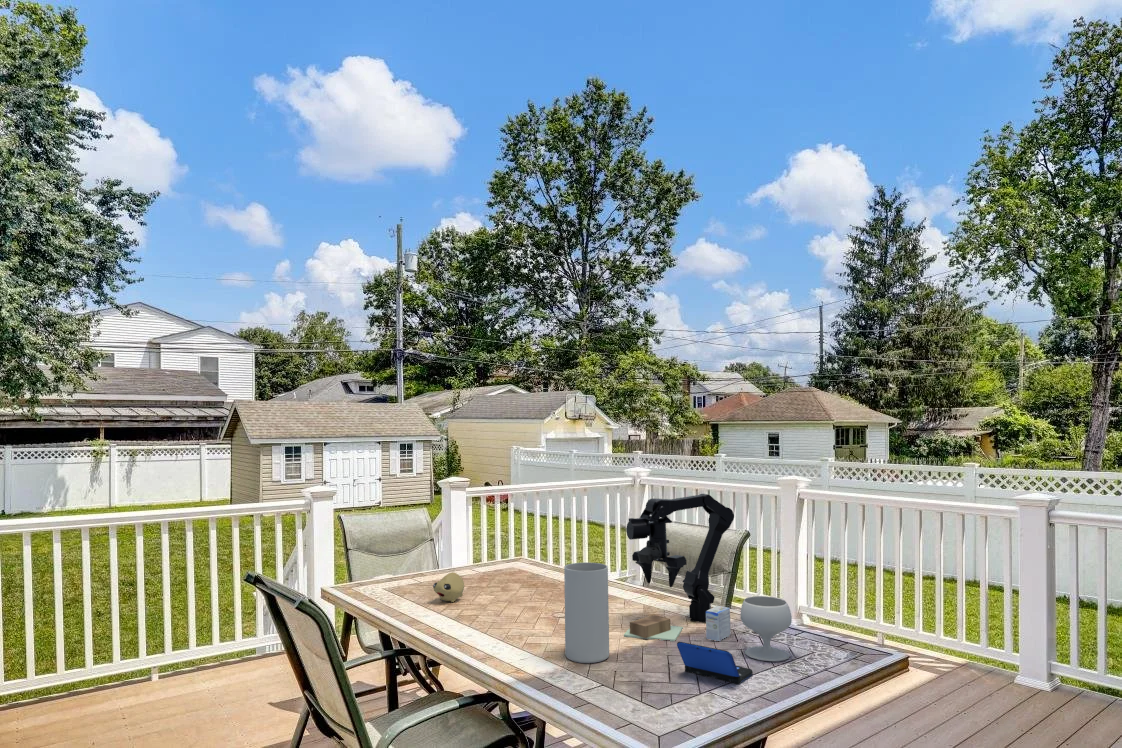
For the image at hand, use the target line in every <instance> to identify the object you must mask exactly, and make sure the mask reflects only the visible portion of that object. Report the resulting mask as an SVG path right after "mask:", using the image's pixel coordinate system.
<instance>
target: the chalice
mask: <svg viewBox="0 0 1122 748" xmlns="http://www.w3.org/2000/svg"><path fill="white" fill-rule="evenodd" d="M739 616H740V620H741V622H742V623H743V625H744V626H746V628H748V629H750V631H752V632H755V633H756V634H757V635H758V636H760V637H761V639H762V642H763V644H762V645H761V646H752V647H748V648H747V649H746V650H745V651H744V654H745V655H746V656H747V657H749V658H751V659H753V660H758V661H763V662H764V661H766V662H781V661H786V660H788V659H789V658H791V657H790V653H789V652H787V651H786V650H785V649H781V648H778V647H773V646H771V641H772V639H773V638H774V637H775V636H776V635H777V634H779V633H780V634H781V633H782V632H784V631H787V630H788V629H789V628H790V627H791V625H792V623H793V622H792V617H793V616H792V611H791V609H790V606H789V604H788V602H787V601H786V600H784V599H782V598H779V597H776V596H775V597H773V596H767V595H765V596H764V595H757V596H756V595H755V596H748V597H746V598H744V600H743V601H742V604H741V608H740V615H739Z"/></svg>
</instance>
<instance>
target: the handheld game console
mask: <svg viewBox="0 0 1122 748" xmlns="http://www.w3.org/2000/svg"><path fill="white" fill-rule="evenodd" d="M676 647H677V649H678V651H679V654H680V657H681V659H682V662H683V664H684V671H685V672H686V673H689V674H694V675H697V676H703V677H709V678H714V679H716V680H719V681H724V682H727V683H731V684H735V685H739V684H741V683H742V682H743V681H745V680H747V679H749V677H751V676H752V675H753V674H754V673H753V672H754V671H753V669H751V668H747V667H743V666H739V665H736V662H735V659H734V655H733V654H732V653H731V652H729V651H728V650H724V649H719V648H715V647H709V646H705V645H698V644H694V643H688V642H683V641H677V643H676Z"/></svg>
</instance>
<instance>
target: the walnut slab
mask: <svg viewBox="0 0 1122 748" xmlns="http://www.w3.org/2000/svg"><path fill="white" fill-rule="evenodd" d="M671 626H672V624H671V618H669V617H665V616H662V615H657V614H653V615H650V616H649V615H648V616H646V617H642V618H639V619H635V620H632V621H629V628H630V634H633V635H637V636H640V637H644V638H648V637H651V636H654V635H657V634H660V633H663V632H666V631H669V630H671Z"/></svg>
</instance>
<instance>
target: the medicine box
mask: <svg viewBox="0 0 1122 748" xmlns="http://www.w3.org/2000/svg"><path fill="white" fill-rule="evenodd" d="M705 629H706V630H705V632H706V634H705V635H706V640H707V639H711V640H716V641H720V642H722V641H723V640H725V639H727V638H728V637H730V636H731V608H730V607H726V606H721V605H715V606H714V607H711V609H709V610H707V611H706V622H705ZM729 635H730V636H729ZM726 637H727V638H726ZM724 638H725V639H724ZM722 639H723V640H722ZM711 640H710V641H711ZM721 640H722V641H721ZM716 641H715V642H716Z"/></svg>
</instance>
